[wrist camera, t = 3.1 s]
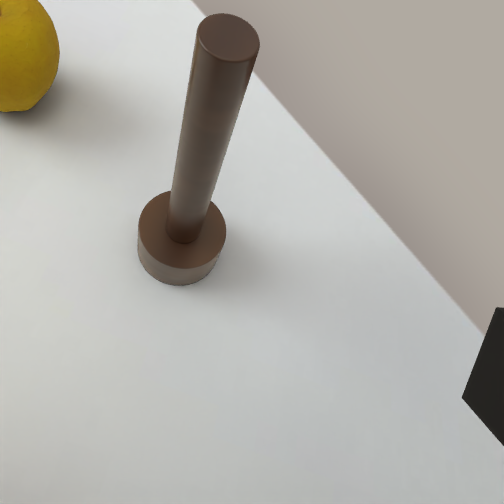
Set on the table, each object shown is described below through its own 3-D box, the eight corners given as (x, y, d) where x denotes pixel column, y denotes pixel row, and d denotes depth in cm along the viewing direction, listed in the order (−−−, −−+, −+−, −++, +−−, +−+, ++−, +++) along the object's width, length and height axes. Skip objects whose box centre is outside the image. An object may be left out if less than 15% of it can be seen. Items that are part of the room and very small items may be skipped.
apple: (-6, 150, 30) (-49, 54, 23) (-58, 77, 31) (-114, -37, 24) (86, 110, 32) (74, 12, 25) (36, 44, 33) (10, -68, 26)
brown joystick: (228, 230, 31) (322, 19, 16) (200, 298, 29) (279, 127, 14) (157, 200, 31) (185, -45, 16) (123, 266, 29) (118, 56, 14)
